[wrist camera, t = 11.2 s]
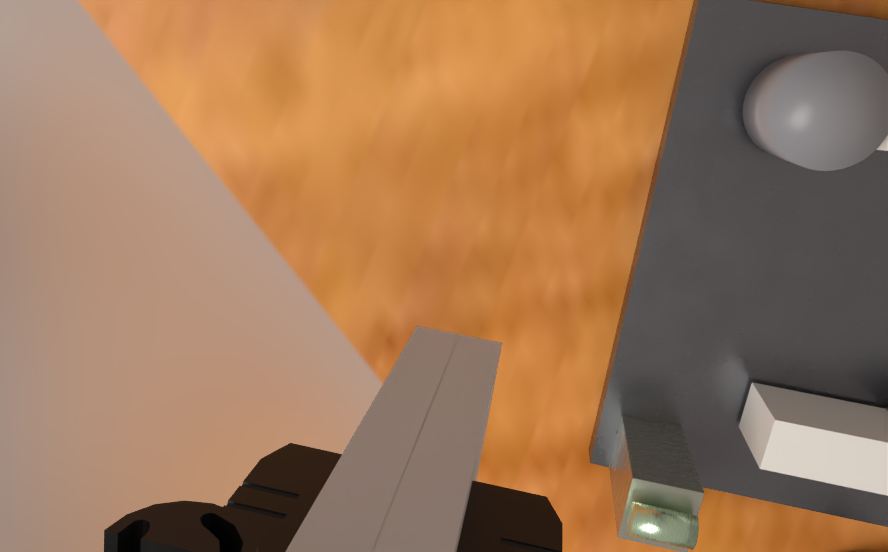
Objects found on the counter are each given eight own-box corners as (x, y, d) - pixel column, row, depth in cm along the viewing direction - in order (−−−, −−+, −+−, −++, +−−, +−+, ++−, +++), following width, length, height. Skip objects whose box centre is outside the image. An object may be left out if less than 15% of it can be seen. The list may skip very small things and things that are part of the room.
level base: (694, -3, 32) (740, -31, 24) (1077, 51, 31) (1273, 42, 22) (589, 448, 39) (596, 552, 31) (900, 514, 37) (998, 643, 29)
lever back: (984, 407, 33) (1044, 455, 29) (950, 489, 35) (1004, 546, 31) (757, 363, 35) (784, 403, 30) (733, 444, 36) (755, 493, 32)
